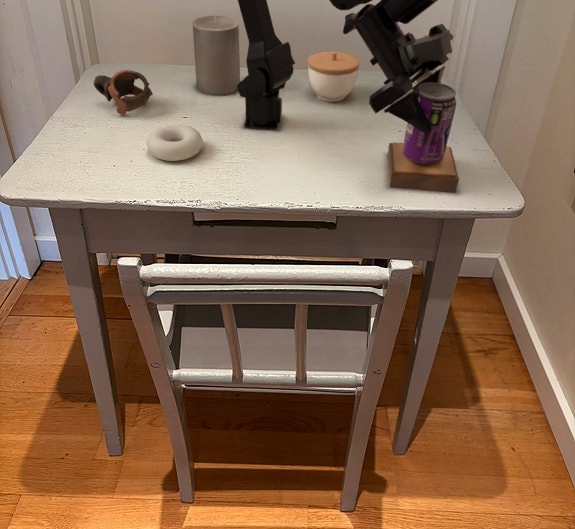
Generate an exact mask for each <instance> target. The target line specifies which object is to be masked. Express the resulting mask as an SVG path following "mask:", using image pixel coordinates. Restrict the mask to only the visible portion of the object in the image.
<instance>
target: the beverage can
mask: <svg viewBox="0 0 575 529" xmlns="http://www.w3.org/2000/svg"><path fill="white" fill-rule="evenodd" d="M418 87H420V89H419V96H418V101H419V103H420V105H421V107H422V109H423V111H424V113H425V115H426V117H427V119H428V122H429V124H430V126H431V129H432V131H431V132H429V133H427V134H425V133H424V132H422V131H420V130H419V129H417V128H416V127H414V126H412V125H411V124H409V123H407V122H406V127H405V133H404V139H403V142H402V143H403V148H402V153H403V155H404V156H405V157H406V158H408V159H410V160H411V161H413V162H415V163H419V164H432V163H437V162H440V161H441V160H442V159H443V158H444V154H445V150H446V146H448V141H449V138H450V133H451V128H452V126H453V121H454V116H455V112H456V108H457V100H456V95H457V90H456V89H455V88H453V87H452V86H450V85H448V84H446V83H442V82H441V83H434V82H428V83H422V84H420V85H418V86H417V88H418Z"/></svg>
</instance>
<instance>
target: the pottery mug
mask: <svg viewBox="0 0 575 529" xmlns="http://www.w3.org/2000/svg"><path fill="white" fill-rule="evenodd" d="M138 79H139V80H140V81H141V82H142V83H143V88H141V87H138V86H137V85H135V81H136V80H138ZM149 85H150V83H149V81H148V79H147V77H146V76H145V75H143V74H142V73H141V72H138V71H135V70H131V69H125V70H119V71H117V72H116V73H115V74H113V75H112V77H110V76H108V75H102V74H101V75H100V74H99V75H97V76H95V78H94V80H93V86H94V88H95V89H96V91H98V92H99V93H100V94H101V95H102V96H104V97H105V99H106V100H107V102H111V101H112V100H114V102H116V104H117V106H116V113H117V114H119V115H122V116H125V115H126V114H127V112H128V113H129V112H132V111H135V110H138V109H139V108H141V107H144V106H145V105H146V103H148V102H149V100H150V97H151V96H153V95H154V92H153V91H152V89H151V88H150V87H149ZM122 98H124V99H122Z"/></svg>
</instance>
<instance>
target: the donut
mask: <svg viewBox="0 0 575 529" xmlns="http://www.w3.org/2000/svg"><path fill="white" fill-rule="evenodd" d="M203 141H204V140H203V137H202V135H201V133H200V132H199V131H198V130H196V129H195V128H194V127H192V126H189V125H185V124H169V125H168V124H167V125H164V126H160V127H157V128H156V129H154V130H153V131H152V132H150V133H149V134H148V137H147V139H146V148H147V150H148V152H149V153H150V154H151V155H152V156H153V157H155V158H157V159H159V160H162V161H168V162H178V161H184V160H187V159H190V158H192V157H194V156H196V155H197V154H199V152H200V151H201V150H202V148H203V143H204V142H203Z"/></svg>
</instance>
